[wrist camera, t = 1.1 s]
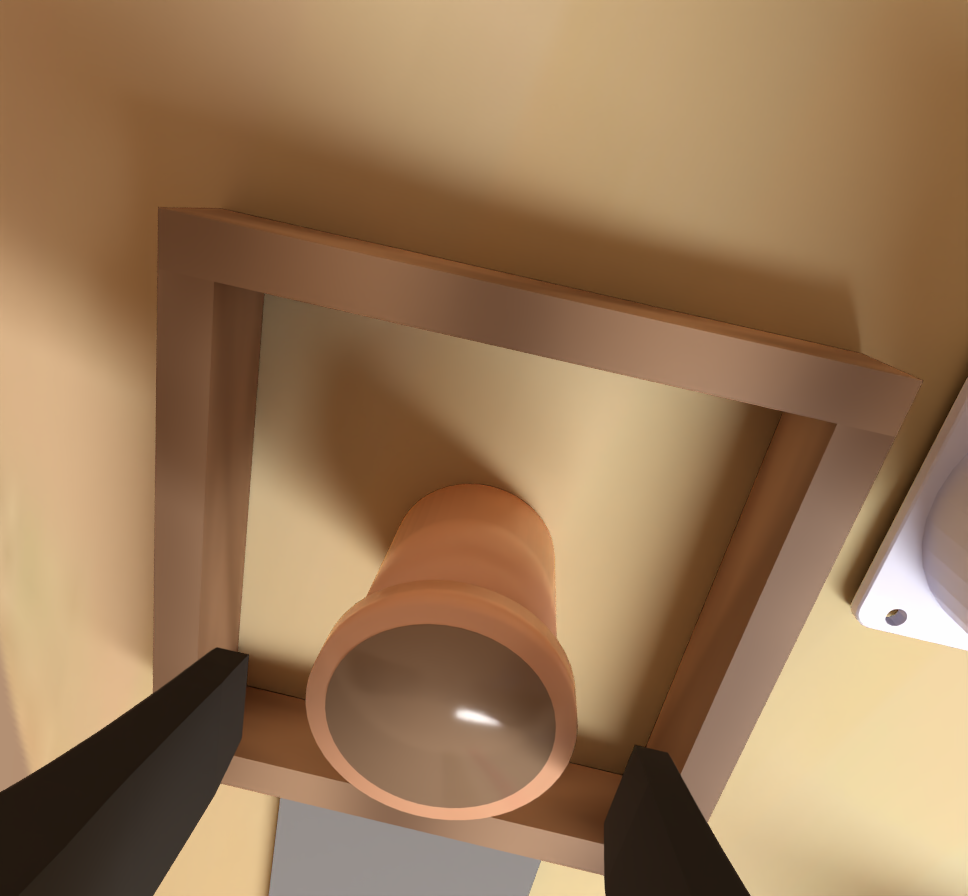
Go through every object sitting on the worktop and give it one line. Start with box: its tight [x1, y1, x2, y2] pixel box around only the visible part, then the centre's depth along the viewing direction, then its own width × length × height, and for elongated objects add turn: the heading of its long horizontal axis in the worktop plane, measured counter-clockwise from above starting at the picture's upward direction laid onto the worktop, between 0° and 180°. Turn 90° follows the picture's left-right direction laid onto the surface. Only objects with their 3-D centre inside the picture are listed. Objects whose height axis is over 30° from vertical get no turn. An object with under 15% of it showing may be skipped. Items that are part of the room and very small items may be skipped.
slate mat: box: [269, 798, 541, 896], centre depth 22 cm, size 9×9×1 cm
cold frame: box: [153, 207, 923, 875], centre depth 16 cm, size 15×15×2 cm
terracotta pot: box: [306, 484, 578, 820], centre depth 14 cm, size 5×5×6 cm
